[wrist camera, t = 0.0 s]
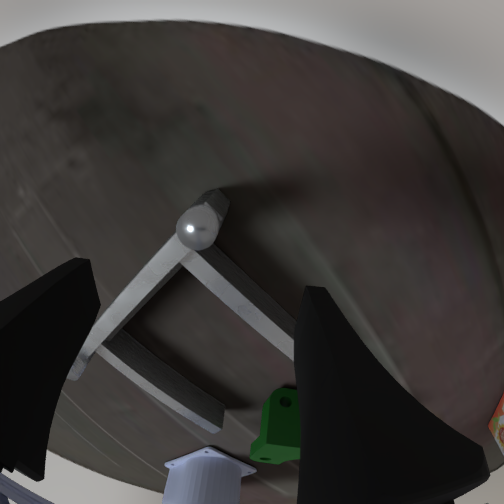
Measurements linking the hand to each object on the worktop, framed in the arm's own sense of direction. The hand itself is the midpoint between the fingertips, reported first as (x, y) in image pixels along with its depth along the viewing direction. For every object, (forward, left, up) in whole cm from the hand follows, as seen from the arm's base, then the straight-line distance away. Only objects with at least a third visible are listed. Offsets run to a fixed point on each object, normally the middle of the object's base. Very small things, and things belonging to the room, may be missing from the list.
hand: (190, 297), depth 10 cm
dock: (-8, -5, -11) cm, 14 cm away
